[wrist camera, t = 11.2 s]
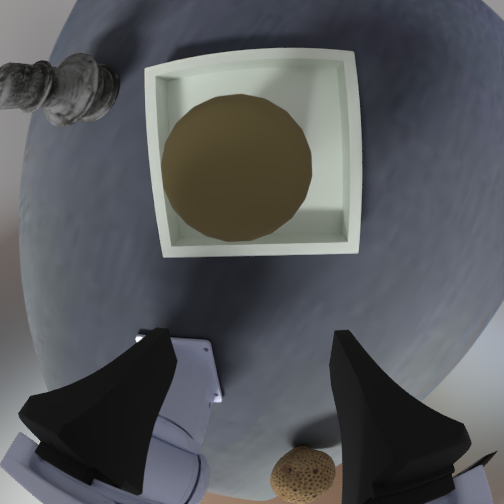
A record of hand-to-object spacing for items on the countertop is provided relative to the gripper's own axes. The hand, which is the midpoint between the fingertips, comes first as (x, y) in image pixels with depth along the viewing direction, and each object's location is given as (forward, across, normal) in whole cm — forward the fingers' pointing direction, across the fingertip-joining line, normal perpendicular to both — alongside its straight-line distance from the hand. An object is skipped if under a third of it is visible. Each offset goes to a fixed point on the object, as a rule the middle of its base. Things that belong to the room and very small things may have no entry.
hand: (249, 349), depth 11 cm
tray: (+10, 0, -8) cm, 13 cm away
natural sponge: (+10, -5, +30) cm, 32 cm away
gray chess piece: (+10, +13, -15) cm, 22 cm away
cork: (+10, 0, -7) cm, 13 cm away
